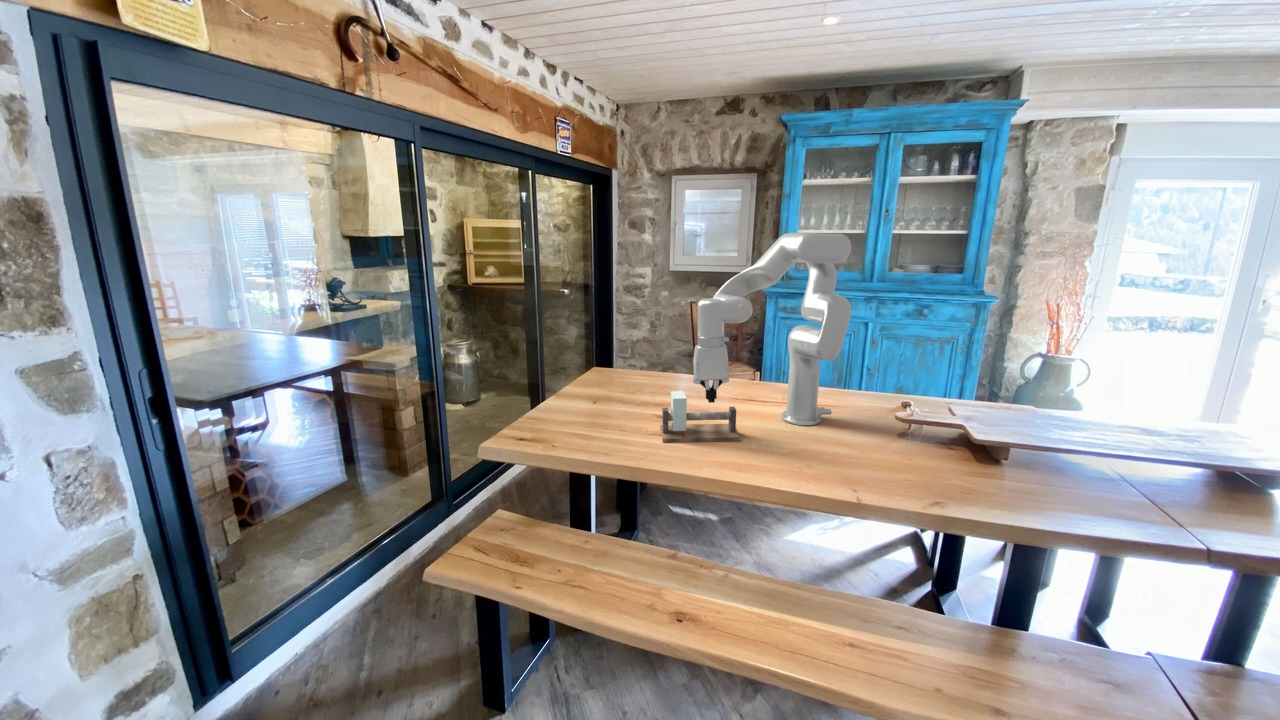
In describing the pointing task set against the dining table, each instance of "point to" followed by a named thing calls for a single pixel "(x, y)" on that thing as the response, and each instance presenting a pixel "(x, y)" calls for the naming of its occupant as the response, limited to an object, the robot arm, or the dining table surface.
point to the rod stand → (701, 427)
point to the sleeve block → (678, 410)
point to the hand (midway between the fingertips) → (711, 401)
